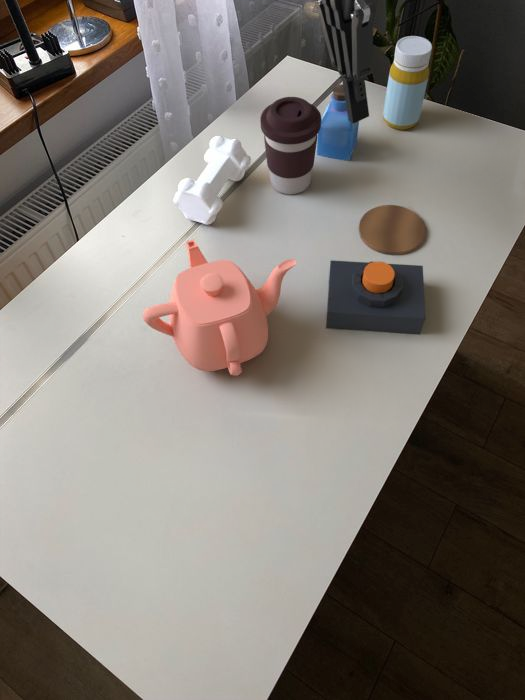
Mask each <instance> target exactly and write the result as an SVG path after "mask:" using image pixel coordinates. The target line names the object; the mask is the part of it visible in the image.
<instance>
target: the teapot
mask: <svg viewBox="0 0 525 700" xmlns="http://www.w3.org/2000/svg"><path fill="white" fill-rule="evenodd" d="M185 246H186V252H187V258H188V262H189V263H188V264H189V268H187V269H185V270H183V271H181V272H180V273H178V274H177V276H176V278H175V280H174V282H173V286H172V288H171V292H170V296H169V302H165V303H160V304H155V305H152V306H149V307H148V308H146V309H145V310H144V311H143V313H142V319H143V322H144V323H145V324H146V325H147V326H148V327H150V328H151V329H153V330H155V331H157V332H160V333H162V334H164V335H166V336H168V337H169V336H170V337H172V340H173V341H174V345H175V346H176V348H177V350H178V352H179V353H180V355H181V356H182V357H183V358H184V360H185V361H186V362H187V363H188V364H189V365H190V366H191V367H193V368H194V369H196V370H199V371H202V372H213V371H219V370H223V369H227V370H228V372H229V374H230V375H231V376H239V375H240V374H242V372H243V369H242V365H241V364H242V363H245V362H247V361H250V360H252V359H254V358H255V357H257V356H258V355H260V354H261V353H262V352H263V351H264V350H265V348H266V346H267V344H268V340H269V325H268V319H267V316H268V315H270V314H271V313H272V312H273V311H274V309H275V308H276V307H277V305H278V303H279V300H280V297H281V289H282V282H283V280H284V277H285V276H286V274H287V273H288V272H289V271H290V270H291V269H292V268H293V267H295V265H296V263H297V260H296V259H295V258H290V259H286V260H284V261H281V262H280V263H279V264H277V265H276V267H274V268H273V270H272V271H271V272H270V275H269V277H268V279H267V281H266V282H265V283H264V284H263V285H262V286H260V287H259V288H257V289H256V288H255V286H254V285H253V283H252V282H251V280H250V279H249V278H248V277H247V275H245V273H244V272H243V270H242V269H241V268H240V267H239V266H238V265H237V264H236V263H235V262H233V261H232V260H230V259H219V260H214V261H210V262H208V261H207V259H206V258H205V255H204V254H203V252H202V251H201V249H200V247H199V245H198V244H197V242H196V240H195V239H190V240H187V241H185ZM166 316H168V317H169V323H168V322H166V321H164V320H162V319H161V318H162V317H166Z"/></svg>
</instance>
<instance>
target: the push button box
mask: <svg viewBox="0 0 525 700" xmlns="http://www.w3.org/2000/svg"><path fill="white" fill-rule="evenodd" d="M372 262H373V261H369V262H367V261H366V262H364V261H351V260H349V261H348V260H331V259H330V263H329V272H328V273H329V274H328V287H327V303H326V304H327V305H326V321H325V329H330V330H345V331H361V332H374V333H375V332H376V333H388V334H390V333H391V334H405V335H417V336H420V335H421V334H422V330H423V327H424V325H425V321H426V304H425V303H426V301H425V284H424V283H425V282H424V266H423V265H420V264H419V265H418V264H417V265H416V264H403V263H400V264H399V263H388V264H389V265H390V266H391V267H392V268H393V270H394V273H395V276H394V280H393V285H392V287H391V289H390V290H388V291H387V292H385V293H380V294H377V293H372V292H370V291H368V290H367V289H366V288H365V287H364V285H363V282H362V280H363V274H364V269H365V267H366V266H367V265H368V264H370V263H372Z"/></svg>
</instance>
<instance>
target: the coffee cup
mask: <svg viewBox="0 0 525 700" xmlns="http://www.w3.org/2000/svg"><path fill="white" fill-rule="evenodd" d="M321 119H322V114H321V112H320V110H319V109H318V108H317V107H316V106H315V105H314V104H312V103H310V102H309V101H307V100H306V99H304V98H302V97H298V96H284V97H280V98H279V99H277V100H275V101H274V102H272V103H271V104H269V105H268V106H266V107H265V108H264V110H262V112H261V115H260V120H259V121H260V129H261V132H262V134H263V135H264V137H263V139H264V141H263V142H264V149H265V158H266V166H267V169H268V173H269V181H270V185H271V186H272V188H273V189H274V190H275V191H277V193H282V194H283V195H297V194H300V193H302V192H304V191H305V190H306V189H307V188H308V187H309V186H310V183H311V181H312V180H311V179H312V173H313V168H314V164H315V158H316V153H317V141H318V132H319V131H320V128H321Z"/></svg>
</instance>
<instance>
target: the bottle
mask: <svg viewBox="0 0 525 700" xmlns="http://www.w3.org/2000/svg"><path fill="white" fill-rule="evenodd" d="M395 44H396V45H395V49H394V57H393V62H392V64H391V65H390V69H389V74H388V80H387V84H386V85H387V86H386V92H385V98H384V104H383V112H382V118H383V121H384V122H385V124H386V125H387V126H388V127H389V128H392V129H394V130H399V131H407V130H410V129H411V128H413V127H415V126H417V124H418V123H419V122H420V118H421V114H422V109H423V104H424V99H425V95H426V90H427V85H428V81H429V77H430V76H429V75H430V67H429V63H430V60H431V55H432V51H433V48H432V47H433V46H432V43H431V41H429V39H427V38H425V37H422V36H417V35H410V36H409V35H408V36H404V37H402V38H399V40H397V42H396V43H395Z"/></svg>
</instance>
